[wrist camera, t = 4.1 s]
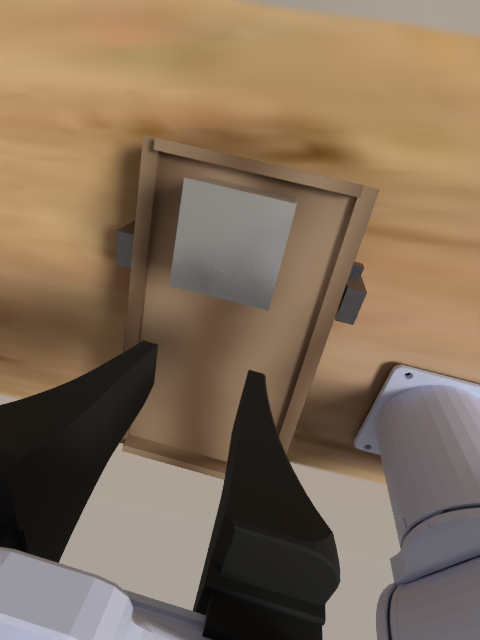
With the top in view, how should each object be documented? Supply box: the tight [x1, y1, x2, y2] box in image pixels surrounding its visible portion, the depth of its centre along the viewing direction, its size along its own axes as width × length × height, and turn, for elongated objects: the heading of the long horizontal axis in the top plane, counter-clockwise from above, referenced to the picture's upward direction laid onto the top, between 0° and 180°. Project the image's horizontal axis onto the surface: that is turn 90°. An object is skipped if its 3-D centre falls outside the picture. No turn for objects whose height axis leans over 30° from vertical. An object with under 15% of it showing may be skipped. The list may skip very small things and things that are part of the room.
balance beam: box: [120, 135, 379, 480], centre depth 20 cm, size 11×18×2 cm, turn 169°
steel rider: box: [169, 178, 297, 311], centre depth 15 cm, size 4×4×5 cm
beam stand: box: [116, 221, 367, 325], centre depth 22 cm, size 14×17×3 cm
